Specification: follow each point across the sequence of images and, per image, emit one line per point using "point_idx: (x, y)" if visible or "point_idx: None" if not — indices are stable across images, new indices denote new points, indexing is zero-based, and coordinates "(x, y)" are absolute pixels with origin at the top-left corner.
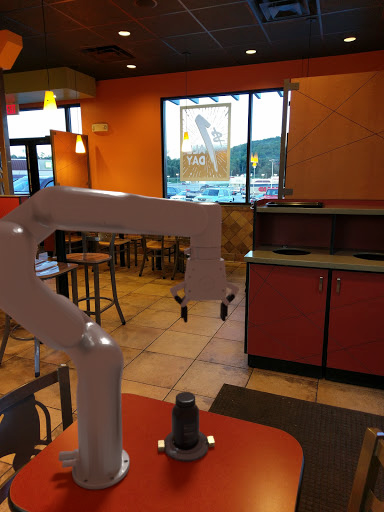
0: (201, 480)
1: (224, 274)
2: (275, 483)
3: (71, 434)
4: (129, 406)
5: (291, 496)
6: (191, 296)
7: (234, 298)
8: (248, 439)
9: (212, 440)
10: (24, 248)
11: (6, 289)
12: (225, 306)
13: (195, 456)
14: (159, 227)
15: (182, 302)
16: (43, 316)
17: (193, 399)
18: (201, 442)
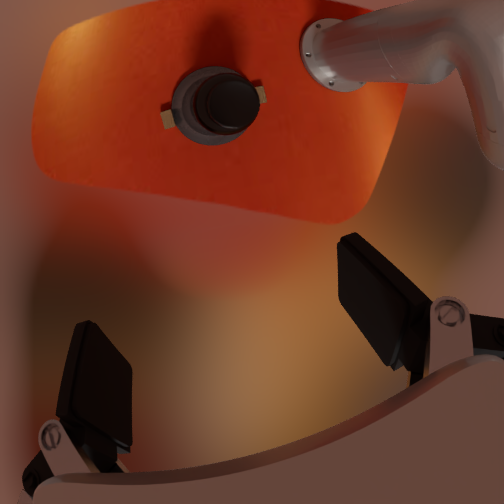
0: (179, 36)
1: None
2: (66, 63)
3: (389, 126)
4: (327, 200)
5: (50, 50)
6: (487, 396)
7: (25, 468)
8: (102, 149)
9: (164, 117)
10: None
11: None
12: (57, 412)
13: (193, 73)
14: None
15: (467, 324)
16: None
17: (210, 94)
18: (185, 107)
